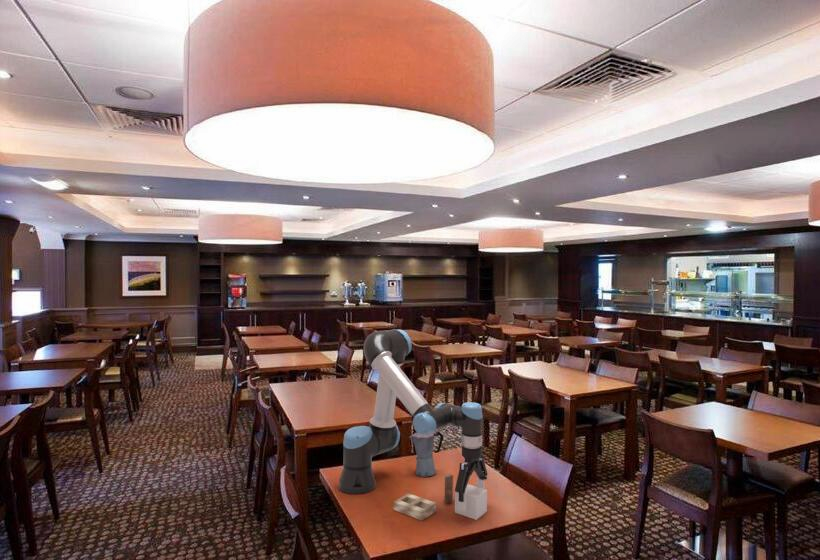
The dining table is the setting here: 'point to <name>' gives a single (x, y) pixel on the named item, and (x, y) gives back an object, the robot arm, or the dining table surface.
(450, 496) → the peg
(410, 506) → the socket board
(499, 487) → the dining table surface
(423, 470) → the moka pot
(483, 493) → the white cube block
